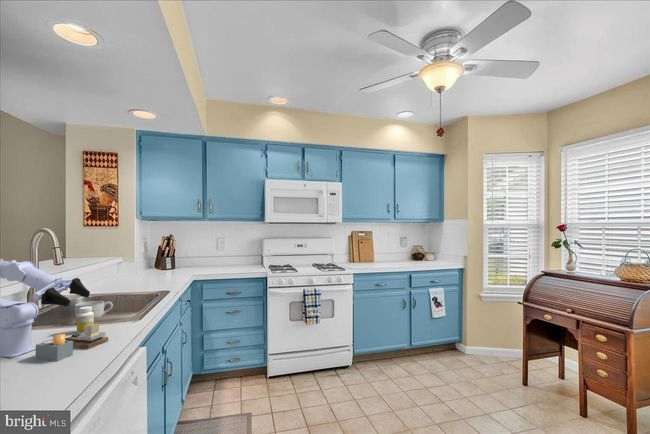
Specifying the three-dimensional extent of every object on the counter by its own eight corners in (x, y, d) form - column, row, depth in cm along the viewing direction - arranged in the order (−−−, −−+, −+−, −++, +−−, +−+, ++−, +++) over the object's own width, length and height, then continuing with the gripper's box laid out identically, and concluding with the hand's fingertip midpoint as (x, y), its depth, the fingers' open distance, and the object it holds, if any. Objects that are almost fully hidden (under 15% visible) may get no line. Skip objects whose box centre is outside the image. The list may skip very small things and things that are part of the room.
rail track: (54, 346, 113) (55, 339, 113) (76, 338, 121) (76, 332, 121) (88, 349, 110) (88, 342, 110) (108, 341, 118) (108, 334, 118)
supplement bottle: (90, 333, 126) (90, 308, 127) (74, 334, 125) (74, 309, 125) (95, 329, 132) (96, 305, 132) (80, 330, 130) (80, 306, 130)
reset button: (50, 352, 102) (50, 336, 102) (59, 348, 105) (60, 333, 105) (58, 353, 102) (58, 337, 102) (67, 349, 104) (67, 334, 105)
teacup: (69, 325, 137) (69, 306, 137) (81, 317, 148) (81, 300, 148) (106, 322, 141) (107, 303, 141) (115, 315, 151) (116, 298, 151)
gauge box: (35, 359, 102) (35, 343, 102) (51, 352, 107) (52, 337, 107) (57, 361, 100) (57, 345, 100) (72, 354, 105) (73, 339, 105)
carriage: (77, 339, 112) (77, 326, 113) (91, 334, 118) (91, 321, 118) (91, 340, 111) (91, 327, 111) (105, 335, 117) (105, 322, 117)
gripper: (24, 278, 100) (62, 296, 99) (66, 265, 114) (99, 281, 114) (18, 298, 101) (56, 316, 100) (60, 282, 115) (94, 298, 115)
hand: (79, 299), depth 107 cm, fingers open, 7 cm apart
